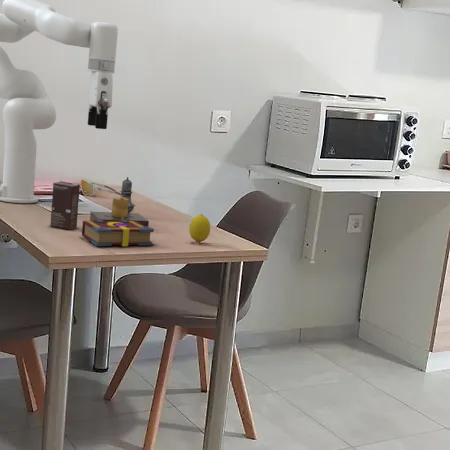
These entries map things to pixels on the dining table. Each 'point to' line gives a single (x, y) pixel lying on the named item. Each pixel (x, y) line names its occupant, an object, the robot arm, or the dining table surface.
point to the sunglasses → (91, 188)
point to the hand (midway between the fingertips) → (96, 127)
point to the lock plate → (108, 217)
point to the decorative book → (116, 233)
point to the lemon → (199, 228)
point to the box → (65, 205)
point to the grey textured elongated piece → (127, 193)
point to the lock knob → (120, 207)
